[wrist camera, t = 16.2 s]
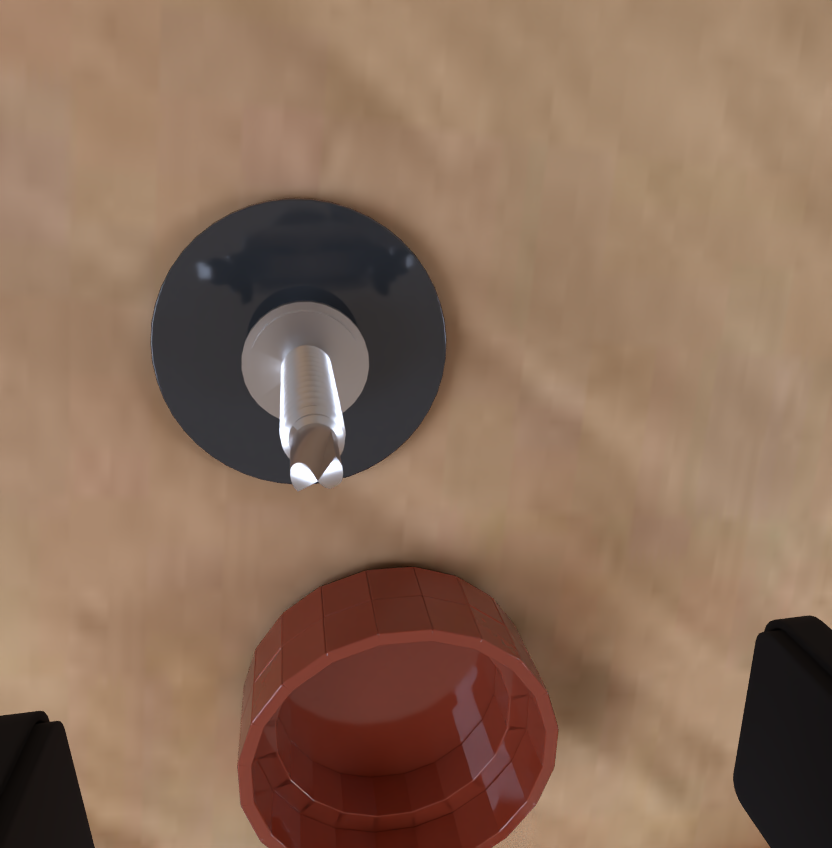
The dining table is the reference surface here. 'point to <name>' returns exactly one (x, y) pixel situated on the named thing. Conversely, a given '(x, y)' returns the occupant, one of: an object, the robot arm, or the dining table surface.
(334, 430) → the screw
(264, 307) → the disc
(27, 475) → the dining table surface
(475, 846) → the bowl
